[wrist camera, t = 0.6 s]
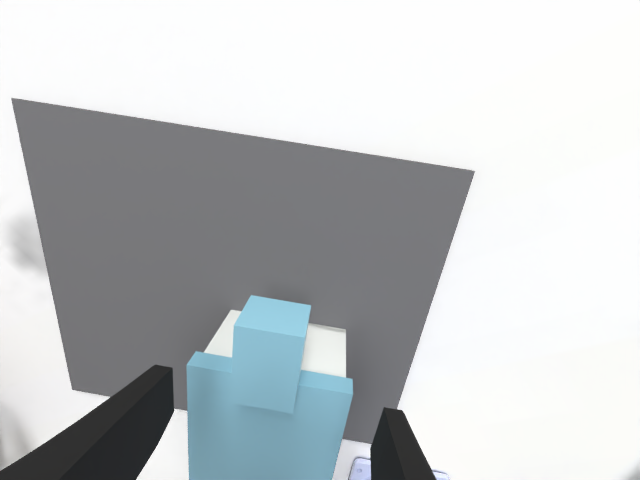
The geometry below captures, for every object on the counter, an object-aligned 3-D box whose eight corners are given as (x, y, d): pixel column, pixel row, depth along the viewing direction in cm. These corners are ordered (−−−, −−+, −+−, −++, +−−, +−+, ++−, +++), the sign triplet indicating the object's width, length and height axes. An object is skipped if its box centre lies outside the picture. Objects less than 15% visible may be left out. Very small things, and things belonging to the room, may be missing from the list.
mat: (383, 442, 24) (384, 446, 24) (75, 386, 25) (72, 389, 24) (472, 170, 16) (474, 171, 16) (16, 98, 17) (11, 98, 16)
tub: (325, 422, 23) (321, 486, 19) (226, 404, 23) (201, 464, 19) (345, 329, 20) (345, 381, 16) (231, 309, 20) (201, 356, 16)
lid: (325, 490, 19) (322, 537, 17) (196, 466, 19) (177, 510, 17) (367, 315, 14) (372, 349, 12) (195, 285, 14) (167, 313, 12)
